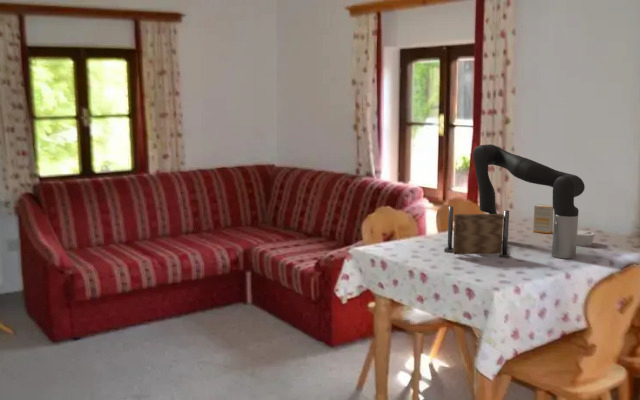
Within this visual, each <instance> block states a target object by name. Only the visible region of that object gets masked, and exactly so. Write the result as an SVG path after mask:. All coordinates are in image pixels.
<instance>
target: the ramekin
mask: <svg viewBox="0 0 640 400" xmlns="http://www.w3.org/2000/svg"><path fill="white" fill-rule="evenodd" d="M595 236H596V234H595V233H594V232H593V231H590V230H583V229H577V243H576V247H577V246H578V247H589V246H590V247H591V245H592V244H593V241H594V237H595Z"/></svg>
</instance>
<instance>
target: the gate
mask: <svg viewBox="0 0 640 400" xmlns="http://www.w3.org/2000/svg"><path fill="white" fill-rule="evenodd" d="M503 223H504V213H503V214H502V213H497V214H489V213H475V214H474V213H468V214H466V213H465V214H463V213H461V214H459V213H458V214H457V213H456V214H453V244H452V248H453V253H452V254H454V255H494V254H495V255H496V254H497V255H498V254H501V252H502V244H503Z"/></svg>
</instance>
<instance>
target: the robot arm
mask: <svg viewBox="0 0 640 400" xmlns="http://www.w3.org/2000/svg"><path fill="white" fill-rule="evenodd" d="M472 158H473V164H474V168H475V169H474V170H475V175H476V179H477V185H478V195H479V197H478V198H479V200H478V201H479V203H478V204H479V211H480V212H484V213H486V214H498V212H497V207H496V206H497V205H496V191H495V188H494V186H493V183H492V181H491V179H490V175H489V166H496V167H500V168H503V169H506V170H507V171H508V173H510V174H511V175H512V176H513V177H515V178H517V179H519V180H522V181H524V182H527V183H528V184H529V183H530V184H535V185H540V186H541V185H542V186H547V187H551V188H552V206H553V208H554V211H553V232H552V240H551V241H552V243H551V256H552V257H554V258H558V259H576V257H577V256H576V255H577V245H576V243H577V230H578V225H579V224H578V223H579V208H578V207H576V206H575V198H576V197H579V196H581V195H582V194H583V192H584V191H585V189H586V188H585V183H584V181H583V179H582V178H581V177H579V176H578V175H576V174H571V173H569V172H564V171H560V170H557V169H554V168H551V167H549V166H547V165H545V164H543V163H540V162H537V161H535V160H532V159H529V158H528V157H524V156H521V155H518V154H515V153H512V152H508V151H507V150H505V149H503V148H501V147H499V146H497V145H495V144H482V145H481V144H480V145H477V146H476V147H475V148H474V150H473V156H472Z"/></svg>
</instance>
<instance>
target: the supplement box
mask: <svg viewBox="0 0 640 400" xmlns="http://www.w3.org/2000/svg"><path fill="white" fill-rule="evenodd" d="M553 225H554V208H553V204H552V205H549V204H538V203H537V204H535V205H534V207H533V228H532V229H533V233H538V234H539V233H542V234H550V235H551V234H553Z"/></svg>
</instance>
